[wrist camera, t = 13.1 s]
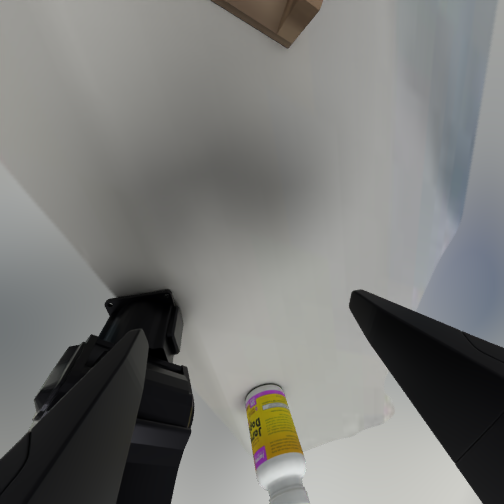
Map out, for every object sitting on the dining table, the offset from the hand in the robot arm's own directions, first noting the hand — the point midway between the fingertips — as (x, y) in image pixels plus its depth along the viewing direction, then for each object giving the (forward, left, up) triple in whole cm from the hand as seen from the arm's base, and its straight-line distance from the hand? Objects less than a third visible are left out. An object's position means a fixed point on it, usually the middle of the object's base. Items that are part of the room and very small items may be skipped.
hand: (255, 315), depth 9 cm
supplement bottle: (+3, -31, -13) cm, 34 cm away
